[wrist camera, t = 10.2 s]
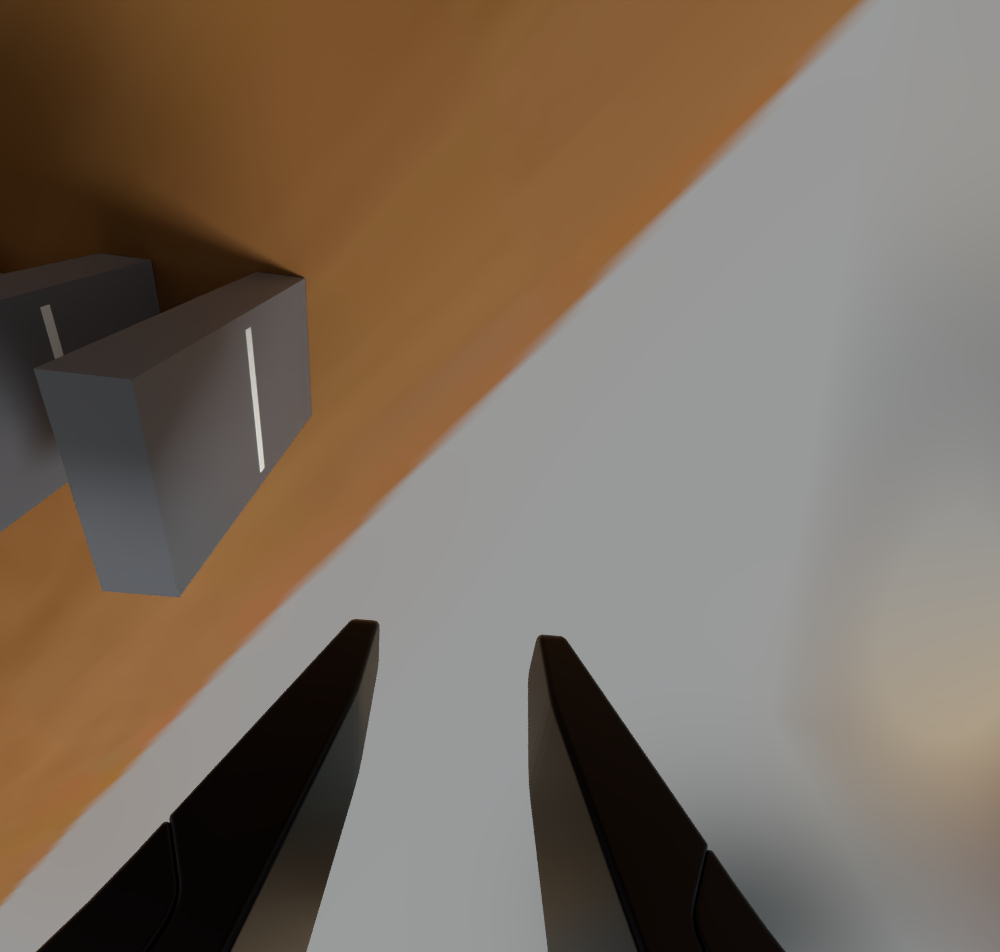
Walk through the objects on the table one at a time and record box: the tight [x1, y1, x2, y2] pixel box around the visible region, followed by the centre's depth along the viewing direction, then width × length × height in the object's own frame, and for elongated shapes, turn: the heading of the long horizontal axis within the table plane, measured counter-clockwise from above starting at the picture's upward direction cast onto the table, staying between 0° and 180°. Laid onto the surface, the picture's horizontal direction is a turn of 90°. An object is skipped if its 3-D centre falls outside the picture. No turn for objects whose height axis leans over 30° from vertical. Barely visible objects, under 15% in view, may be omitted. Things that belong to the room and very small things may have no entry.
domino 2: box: [34, 272, 312, 597], centre depth 15 cm, size 2×5×10 cm, turn 172°
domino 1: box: [0, 253, 160, 532], centre depth 14 cm, size 2×5×10 cm, turn 173°
